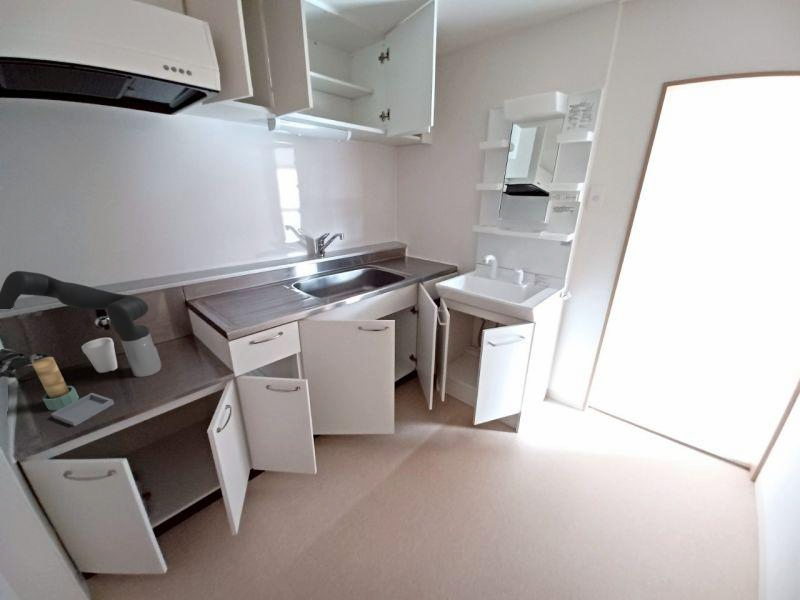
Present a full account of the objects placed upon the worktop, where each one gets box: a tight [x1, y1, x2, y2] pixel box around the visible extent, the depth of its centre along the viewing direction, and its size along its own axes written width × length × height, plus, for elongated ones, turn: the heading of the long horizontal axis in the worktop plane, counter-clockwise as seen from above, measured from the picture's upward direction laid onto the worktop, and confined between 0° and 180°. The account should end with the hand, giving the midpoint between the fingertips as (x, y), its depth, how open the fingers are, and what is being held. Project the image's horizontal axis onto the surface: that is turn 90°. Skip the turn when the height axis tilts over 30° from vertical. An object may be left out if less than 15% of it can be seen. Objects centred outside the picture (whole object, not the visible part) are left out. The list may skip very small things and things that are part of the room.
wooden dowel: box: [31, 356, 69, 399], centre depth 109 cm, size 5×5×18 cm
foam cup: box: [81, 337, 118, 374], centre depth 131 cm, size 10×9×13 cm
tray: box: [50, 392, 115, 427], centre depth 109 cm, size 12×12×2 cm
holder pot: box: [41, 385, 80, 411], centre depth 112 cm, size 8×8×5 cm
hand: (30, 368), depth 111 cm, fingers open, 8 cm apart
